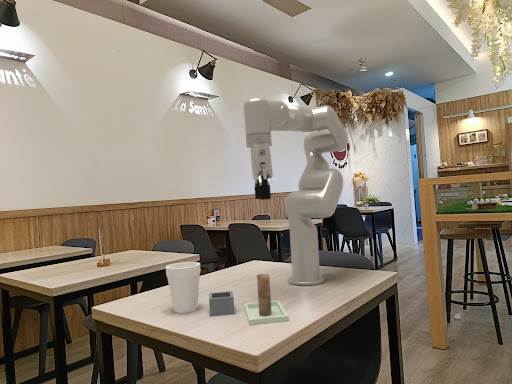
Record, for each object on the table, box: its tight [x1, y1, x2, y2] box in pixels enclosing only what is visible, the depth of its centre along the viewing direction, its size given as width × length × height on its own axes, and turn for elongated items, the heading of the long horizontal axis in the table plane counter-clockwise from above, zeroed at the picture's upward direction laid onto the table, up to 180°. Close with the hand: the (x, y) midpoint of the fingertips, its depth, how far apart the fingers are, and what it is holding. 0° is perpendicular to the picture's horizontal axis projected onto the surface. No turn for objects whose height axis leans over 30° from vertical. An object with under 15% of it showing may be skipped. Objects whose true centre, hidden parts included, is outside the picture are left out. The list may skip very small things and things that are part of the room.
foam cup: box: [165, 261, 201, 314], centre depth 107 cm, size 10×9×13 cm
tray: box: [244, 300, 290, 326], centre depth 99 cm, size 14×10×2 cm
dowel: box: [256, 273, 272, 316], centre depth 99 cm, size 3×3×10 cm
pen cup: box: [208, 290, 235, 317], centre depth 103 cm, size 6×6×5 cm
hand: (262, 199), depth 114 cm, fingers open, 9 cm apart
